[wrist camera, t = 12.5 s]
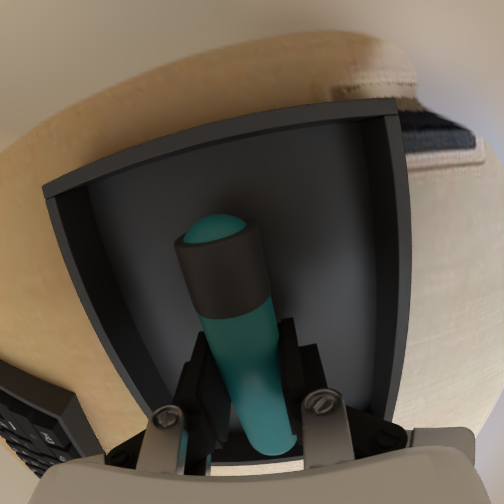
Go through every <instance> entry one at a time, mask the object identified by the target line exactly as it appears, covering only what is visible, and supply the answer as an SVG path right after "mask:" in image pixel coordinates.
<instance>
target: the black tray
mask: <svg viewBox="0 0 504 504" xmlns="http://www.w3.org/2000/svg"><path fill="white" fill-rule="evenodd" d="M397 114H398V110H397V105H396V101H395V98H372V99H355V100H343V101H332V102H323V103H314V104H306V105H299V106H292V107H286V108H280V109H274V110H268V111H263V112H258V113H252V114H247V115H243V116H238V117H234V118H229V119H225V120H221V121H216V122H212V123H208V124H205V125H201V126H197V127H193V128H190V129H186V130H183V131H179V132H176V133H173V134H169V135H166V136H163V137H160V138H157V139H154V140H151V141H148V142H145V143H142V144H139V145H136V146H133V147H130V148H128V149H125V150H122V151H120V152H117V153H114V154H112V155H109V156H107V157H104V158H102V159H99V160H97V161H94V162H92V163H90V164H87V165H85V166H83V167H80V168H78V169H76V170H74V171H71V172H69V173H67V174H65V175H63V176H61V177H59V178H57V179H54V180H52V181H50V182H48V183H46V184H44V185H43V186H42V190H43V194H44V198H45V199H47V200H46V205H47V209H48V213H49V216H50V220H51V223H52V226H53V229H54V233H55V236H56V239H57V242H58V245H59V248H60V250H61V253H62V256H63V259H64V261H65V264H66V267H67V269H68V272H69V275H70V277H71V280H72V282H73V284H74V287H75V289H76V292H77V294H78V296H79V298H80V301H81V303H82V305H83V307H84V309H85V312H86V314H87V316H88V318H89V320H90V322H91V324H92V326H93V328H94V330H95V332H96V334H97V336H98V338H99V340H100V342H101V344H102V346H103V347H104V349H105V351H106V353H107V355H108V356H109V358H110V360H111V362H112V363H113V365H114V367H115V369H116V370H117V372H118V374H119V375H120V377H121V379H122V380H123V382H124V383H125V385H126V387H127V388H128V390H129V391H130V393H131V394H132V396H133V397H134V399H135V400H136V402H137V403H138V405H139V406H140V408H141V409H142V411H143V412H144V414H145V415H146V416H147V418H148V419H149V417H150V415H151V413H152V412H153V411H154V410H155V409H156V408H158V407H159V406H162V405H165V404H172V401H173V398H174V395H175V391H176V388H177V385H178V382H179V378H180V375H181V372H182V369H183V366H184V363H185V362H187V361H190V359H191V356H192V352H193V349H194V346H195V342H196V339H197V336H198V333H199V332H200V331H204V330H203V327H202V324H201V322H200V319H199V316H198V313H197V312H196V311H195V309H194V306H193V303H192V300H191V298H190V295H189V292H188V289H187V286H186V283H185V280H184V277H183V274H182V270H181V267H180V264H179V261H178V258H177V255H176V251H175V248H174V242H175V240H176V239H177V238H179V237H180V236H181V235H183V234H185V233H186V232H188V230H189V229H190V227H191V226H193V225H194V224H195V223H196V222H197V221H199V220H200V219H202V218H204V217H206V216H209V215H214V214H227V215H232V216H235V217H237V218H245V219H252V220H254V221H256V223H257V224H258V229H259V234H260V238H261V243H262V248H263V253H264V257H265V262H266V267H267V272H268V276H269V281H270V286H271V298H272V303H273V308H274V312H275V317H276V322H277V323H281V319H284V318H290V317H293V318H294V323H295V329H296V334H297V340H298V345H299V346H304V345H310V344H315V343H316V344H317V347H318V350H319V354H320V358H321V362H322V366H323V370H324V374H325V378H326V382H327V386H328V388H332V389H335V390H337V391H339V392H340V393H341V394H342V396H343V398H344V402H345V405H347V406H350V407H352V408H355V409H357V410H360V411H362V412H365V413H367V414H370V415H373V416H375V417H378V418H381V419H383V420H386V421H389V422H392V418H393V414H394V410H395V405H396V401H397V396H398V391H399V386H400V380H401V375H402V369H403V362H404V356H405V348H406V340H407V332H408V322H409V310H410V296H411V272H412V233H411V210H410V195H409V184H408V174H407V165H406V157H405V150H404V143H403V137H402V131H401V125H400V120H399V116H398V115H397ZM302 459H304V458H303V446H302V445H300V444H299V443H298V440H296V442H295V444H294V446H293V447H292V448H291V449H289V450H288V451H287V452H285V453H283V454H280V455H265V454H262V453H260V452H259V451H257V450H256V449H254V448H253V446H252V445H251V443H250V442H249V440H248V437H247V435H246V433H245V431H244V429H243V426H242V424H241V422H240V420H239V417H238V415H237V413H236V410H235V408H234V406H233V403H232V401H231V411H230V421H229V431H228V440H227V442H223V449H215V451H213V452H212V453H211V466H241V465H258V464H270V463H280V462H288V461H296V460H302Z"/></svg>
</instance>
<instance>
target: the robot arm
mask: <svg viewBox="0 0 504 504" xmlns="http://www.w3.org/2000/svg"><path fill="white" fill-rule="evenodd" d="M277 327H278V332H279V340H278V350H279V362H280V374H281V386H282V392H283V397H284V401H285V406H286V410H287V415H288V419H289V423H290V428H291V432H292V435H297V440H298V443H299V444H300V445H302V446H303V458H304V470H300V471H293V472H284V473H275V474H263V475H247V476H210V472H211V453H212V452H213V451H215V449H223V442H227V440H228V431H229V421H230V411H231V399H230V396H229V394H228V392H227V389H226V387H225V384H224V382H223V379H222V377H221V374H220V372H219V369H218V367H217V364H216V362H215V359H214V357H213V354H212V351H211V349H210V346H209V343H208V341H207V338H206V335H205V333H204V331H200V332H199V333H198V336H197V339H196V342H195V346H194V349H193V352H192V356H191V359H190V361H187V362H185V363H184V366H183V369H182V372H181V375H180V378H179V382H178V385H177V388H176V391H175V395H174V398H173V401H172V404H165V405H162V406H159V407H158V408H156V409H155V410H154V411H153V412H152V413H151V415H150V417H149V421H148V424H147V428H146V429H145V430H144V431H142V432H140V433H139V434H137V435H135V436H134V437H132V438H130V439H129V440H127V441H125V442H123V443H122V444H120V445H118V446H116V447H115V448H113V449H112V450H111V451H110V452H109V453H108V455H105V454H104V453H103V454H99V455H94V456H89V457H84V458H79V459H73V460H69V461H67V462H66V463H60V464H56V465H53V466H52V467H50V468H49V469H48V470H47V471H46V472H45V473H44V475H43V476H42V477H41V479H40V481H39V483H38V485H37V487H36V488H35V490H34V492H33V494H32V497H31V499H30V501H29V503H28V504H491V501H490V499H489V496H488V494H487V491H486V489H485V487H484V484H483V482H482V480H481V478H480V476H479V474H478V473H477V471H476V469H475V468H474V464H475V436H474V434H473V432H472V431H471V430H470V429H468V428H466V427H448V428H414V430H404V429H403V428H402V427H401V426H399V425H397V424H394V423H392V422H389V421H386V420H383V419H381V418H378V417H375V416H373V415H370V414H367V413H365V412H362V411H360V410H357V409H355V408H352V407H350V406H347V405H345V402H344V398H343V396H342V394H341V393H340V392H339V391H337V390H335V389H332V388H328V386H327V382H326V378H325V374H324V370H323V366H322V362H321V358H320V354H319V350H318V347H317V344H316V343H315V344H310V345H304V346H299V345H298V340H297V334H296V329H295V323H294V318H293V317H290V318H284V319H281V323H277Z"/></svg>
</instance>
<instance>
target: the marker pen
mask: <svg viewBox="0 0 504 504" xmlns="http://www.w3.org/2000/svg"><path fill="white" fill-rule="evenodd" d="M174 248H175V251H176V255H177V258H178V261H179V264H180V267H181V270H182V274H183V277H184V280H185V283H186V286H187V289H188V292H189V295H190V298H191V300H192V303H193V306H194V309H195V311H196V312H197V313H198V316H199V319H200V322H201V324H202V327H203V330H204V333H205V335H206V338H207V341H208V343H209V346H210V349H211V351H212V354H213V357H214V359H215V362H216V364H217V367H218V369H219V372H220V374H221V377H222V379H223V382H224V384H225V387H226V389H227V392H228V394H229V396H230V399H231V401H232V403H233V406H234V408H235V410H236V413H237V415H238V417H239V420H240V422H241V424H242V426H243V429H244V431H245V433H246V435H247V437H248V440H249V442H250V443H251V445H252V446H253V448H254V449H256V450H257V451H259V452H260V453H262V454H265V455H280V454H283V453H285V452H287V451H288V450H289V449H291V448H292V447H293V446H294V444H295V442H296V440H297V435H292V432H291V428H290V423H289V419H288V415H287V410H286V406H285V401H284V397H283V392H282V386H281V374H280V362H279V350H278V340H279V332H278V327H277V322H276V317H275V312H274V308H273V303H272V298H271V286H270V281H269V276H268V272H267V267H266V262H265V257H264V253H263V248H262V243H261V238H260V234H259V229H258V224H257V223H256V221H254V220H252V219H245V218H237V217H235V216H232V215H227V214H214V215H209V216H206V217H204V218H202V219H200V220H199V221H197V222H196V223H195V224H194V225H193V226H191V227H190V229H189V230H188V232H186V233H185V234H183V235H181V236H180V237H179V238H177V239H176V240H175V242H174Z"/></svg>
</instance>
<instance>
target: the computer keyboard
mask: <svg viewBox="0 0 504 504" xmlns="http://www.w3.org/2000/svg"><path fill="white" fill-rule="evenodd" d="M0 435H1V436H2V438H4V439H6V443H7V444H8V445H9V446H10V447H11V448H12V450H14V451H16V454H17V455H18V456H19V458H20V459H21V460H22V461H24V462H26V463H25V464H26V465H27V466H28V467H29V468H30V469H31V470H32V471H34V473H35V474H36V475H37V476H38V477H39V478H40V479H41V477H42V476H43V475H44V473H45V472H46V471H47V470H48V469H49V468H50V467H52V466H53V465H56V464H60V463H66V462H67V461H69V460H73V459H79V458H84V457H89V456H94V455H99V454H103V453H104V454H105V452H104V450H103V449H102V447H101V445H100V443H99V442H98V440H97V438H96V436H95V434H94V432H93V430H92V429H91V427H90V425H89V423H88V421H87V419H86V417H85V415H84V412H83V410H82V408H81V406H80V404H79V402H78V399H77V397H76V395H75V393H72V392H69V391H67V390H64V389H62V388H59V387H57V386H54V385H52V384H49V383H47V382H45V381H42V380H40V379H38V378H36V377H33V376H31V375H29V374H27V373H25V372H23V371H21V370H19V369H17V368H15V367H13V366H11V365H9V364H7V363H5V362H3V361H1V360H0ZM105 455H106V454H105Z"/></svg>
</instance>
